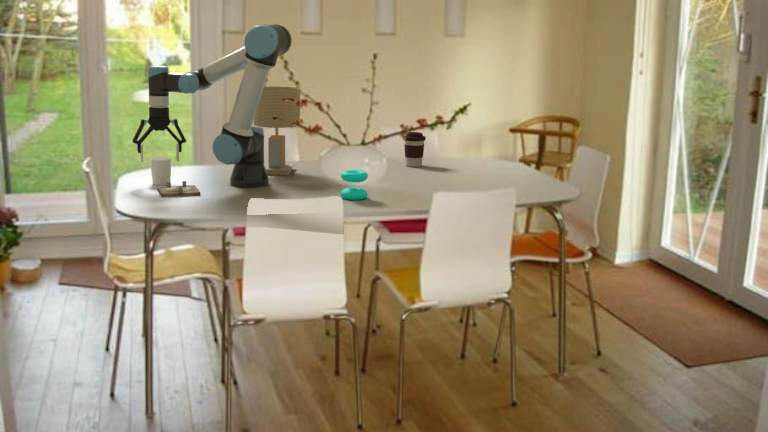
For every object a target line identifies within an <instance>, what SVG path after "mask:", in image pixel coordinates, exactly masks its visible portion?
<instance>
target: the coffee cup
mask: <svg viewBox="0 0 768 432" xmlns="http://www.w3.org/2000/svg"><path fill="white" fill-rule="evenodd" d="M404 136H405V137H406V140H404V144H403V145H404V157H405V166H406V167H409V168H419V167H422V165H423V158H424V151H425V141H426V136H425V135H423V132H420V131H408V132H407V133H406V135H404Z"/></svg>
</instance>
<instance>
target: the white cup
mask: <svg viewBox="0 0 768 432" xmlns="http://www.w3.org/2000/svg"><path fill="white" fill-rule="evenodd" d="M150 172H151V178H152V179H151V180H152V184H153V185H155V186H167V182H171V177H172V175H171V174H172V158H171V157H169V156H155V157H151V158H150Z"/></svg>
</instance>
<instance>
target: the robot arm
mask: <svg viewBox="0 0 768 432" xmlns="http://www.w3.org/2000/svg"><path fill="white" fill-rule="evenodd" d="M292 41H293V40H292V34H291V33H290V31H289V30H288V28H286V27H285V26H283V25H281V24H265V23H263V24H258V25H254V26H253V27H251V28H250V29H249V30H248V31H247V32H246V34H245V36H244V41H243V43H244V44H243V45H244V46H242V47H241V48H239V49H237V50H235V51H233V52H231V53H229V54H227V55H225V56H223V57H221V58H219V59H216V60H215V61H213V62H210V63H209V64H207V65H204V66H203V67H201V68H199V69H197V70H195V71H193V70H192V71H187V72H186V71H185V72H176V71H175V72H171V71H170V70H169V67H168V66H167V65H166V66H165V65H151V66H149V67H148V72H147V73H148V76H147V78H148V106H149V108H148V119H144V118H140V122H139V123H140V124H139V126H138V128H137V131H136V132H135V134H134V136H133V138H132V143H133V144H136V145H137V146H136V147H137V153H138V154H139V153H140V155H139V156H140V162H141V163H143V162H144V145H143V144H142V143H143V142H144V141H145V140H146V138H147V137H148V136H149V135H150V134H151V133H152V132H153V131H156V132H157V131H161V132H164V131H167V132H168V133H169V135H170V136H171V137H172V138H173V139H174V140H175V141H176V142H177V143H175V160H176V161H177V162H179V161H180V153H182V151H183V150H182V149H183V147H182V146H183V145H182V144H183V143H184V144H185V143H187V139H186V136H184V134H183V131H182V129H181V128H180V126H179V122H178V121H179V120H178V119H177V118H171V119H170V107H169V105H170V95H169V94H170V93H180V94H195V93H197V92H198V91H204V90H208V89H209V88H210V87H212V85H214V84H216V83H217V82H218V83H219V82H220V81H222V80H224V79H226V78H229V77H230V76H233V75H235V74H237V73H238V72H241V71H243V70H244V71H243V74H242V77H241V81H240V85H239V87H238V91H237V94H236V96H235V101H234V104H233V107H232V111H231V112H230V117H229V120H228V121H227V122H225V123H223V125H222V129H221V132H220V134H218V135H217V136H216V137H215V139H214V140H213V143H212V146H211V147H212V153H213V154H214V156H215V158H216V159H217V161H218V162H220V163H222V164H224V165H233V169H232V171H231V175H230V178H229V185H230V186H233V187H239V188H260V187H265V186H268V185H269V184H270V182H269V181H270V180H269V174H267V172H266V169H265V166H264V163H265V133H264V132H265V129H264V127H259V126H253V124H254V117H255V114H256V111H257V108H258V104H259V101H260V98H261V95H262V92H263V89H264V87H266V86H265V85H266V82H267V79H268V76H269V74H270V73H269V72H270V70H272V68H274V67H276V64H277V62H278V58H279V57H280V56H283V55H285V54H287V53H288V52H289V50H290V49H291V47H292ZM147 124H148V125H149V127H148V128H147V130H146V131H145V132H144V133H143V135H141V133H142V131H143V130H144V127H145V125H147ZM170 124H172V125H173V126H174V128H175V129H176V131H177V133H178V135H179V137H180V138H179V137H178V136H177V135H176V134H175V132H173V131H172V129H170V127H169V125H170ZM140 135H141V137H140Z"/></svg>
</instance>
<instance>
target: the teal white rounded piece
mask: <svg viewBox="0 0 768 432" xmlns="http://www.w3.org/2000/svg"><path fill="white" fill-rule="evenodd" d="M340 177H341V179H342V180H343V181H344V182H346V183H347V182H348V183H362V182H365V181H366V180H367V179H368V178H369V174H368V173H367V172H366V171H365V170H361V169H346V170H344V171H343V170H342V172H341V173H340ZM340 196H341V198H342V199H344V200H346V201H347V200H349V201H361V200H365V199H366V198H367V197H368V191H367V190H366V189H365V188H361V187H357V186H355V187H354V186H353V187H351V186H350V187H346V188H344V189H342V190H341V192H340Z"/></svg>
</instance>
